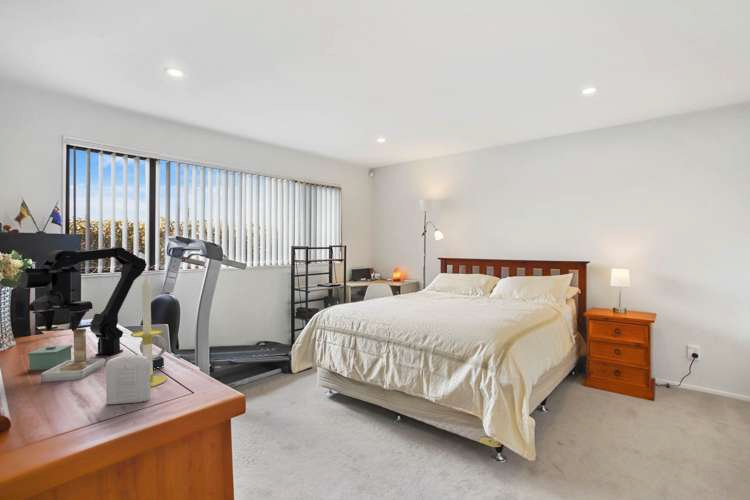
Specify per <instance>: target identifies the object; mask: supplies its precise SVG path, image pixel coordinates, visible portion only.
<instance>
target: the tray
mask: <svg viewBox="0 0 750 500" xmlns="http://www.w3.org/2000/svg"><path fill="white" fill-rule="evenodd" d="M68 363H74V359H71V360H68V361H66V362H64V363H62V364H60V365H58V366H56V367H54V368H51V369H46V371H45V370H44V371H43V372H41V373H40V382H41V383H43V382H55V381H56V382H57V381H72V380H82V379H85V378H86V377H88V376H90V375H92V374H93V373H94V372H96V371H97V370H99V369H101V368H103V367H105V358H103V357H102V358H86V365H87V366H86V368H84V369H83V370H81V371H66V372H60V367H62V366H64V365H66V364H68Z"/></svg>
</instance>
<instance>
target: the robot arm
mask: <svg viewBox="0 0 750 500" xmlns="http://www.w3.org/2000/svg"><path fill="white" fill-rule="evenodd" d="M110 258H114V259H115V260H116V261H117V263H118V264H120V265H121V268H120V278H119V280H118V282H117V284H116V286H115V287H114V290H113V292H112V294H111V296H110V297H109V299H108V301H107V303H106V306H105V308H104V309H103V310H102V311H101V312H100V313H94V315H93V318H92V320H91V321H90V322H89V324H90V325H89V326H90V327H89V330H90V331H91V332H92V334H94V335H95V337H96V339H97V341H98V342H97V353H95V354H94V355H95V356H101V357H102V356H105V357H106V356H107V357H108V356H114V355H117V354H119V353H122V352H124V349H121V341H120V340H121V338H122V337H123V334H124V331H122V330H121V329H120V328H119V327H117V326H118V323H119V312H120V311H121V308H122V306H123V304H124V303H125V300H126V298H127V297H128V294H129V292H130V290H131V288H132V286H133V284H134V282H135V280H136V279H137V278H139V277H140V276H141V275H142V274H143V272H144V271H145V269H147V263H146V260H145V259H144V258H142V257H139V256H137V255H136V254H134V253H132V252H131V251H128V250H127V249H125V248H124V247H121V246H112V247H106V248H99V249H98V248H97V249H96V248H95V249H90V250H89V249H88V250H87V249H86V250H67V249H66V250H61V249H60V250H59V249H57V250H52V251H51V252H50V253H48V255H47V259H46V260H45V261H44V262H43V264H41V266H40V267H34V268H33V267H24V268H23V269H22V272H21V274H20V277H19V285H20V287H21V289H23V290H27V289H28V290H29V289H39V288H41V289H43V288H47V287H48V285H49V286H50V287H49V288H50V289H46V291H45V292H46V293H45V295H43V296H41V297H39V298H36V299H34V300H33V301H32V302H31V303H30V304H29V305H28V312H32V314H35V315H37V316H39V318H40V319H41V321H42V323H43V326H44V327H45V329H46V331H47V332H49V331H52V328H53V322H54V318H55V312H56V310H57V309H60V310H64V309H65V310H66V309H67V310H68V311H69V312H67V314H68V315H69V316H70V327H71V332H73V330H76V329H78V327H79V326H80V323H81V321H82V320H83V318H84V317H85V315H86V313H87V312H90V310H92V309H94V308H93V303H92V302H91V300H90V301H89V300H88V301H87V300H84V301H83V300H81V301H76V299H73V295H72V294H73V292H75V291H76V289H75V288H73V283H72V281H73V280H72V279H73V276H72V274H74V273H79V272H80V270H78V269H77V268H75V265H78V264H80V263H84V262H86V261H87V262H88V261H96V260H104V259H110ZM66 267H67V268H66ZM91 332H90V333H91Z"/></svg>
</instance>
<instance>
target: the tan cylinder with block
mask: <svg viewBox="0 0 750 500" xmlns="http://www.w3.org/2000/svg"><path fill="white" fill-rule="evenodd" d="M72 332H73V360H74V363H68V364H66V365H64V366H62V367H60V372H66V371H81V370H83V369H84V368H86V366H87V365H86V359H87V335H86V333H87V329H86V328H77V329H76V330H73V331H72Z"/></svg>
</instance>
